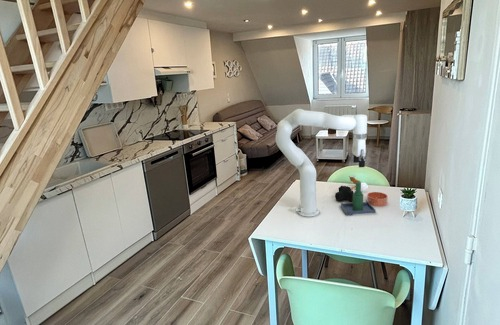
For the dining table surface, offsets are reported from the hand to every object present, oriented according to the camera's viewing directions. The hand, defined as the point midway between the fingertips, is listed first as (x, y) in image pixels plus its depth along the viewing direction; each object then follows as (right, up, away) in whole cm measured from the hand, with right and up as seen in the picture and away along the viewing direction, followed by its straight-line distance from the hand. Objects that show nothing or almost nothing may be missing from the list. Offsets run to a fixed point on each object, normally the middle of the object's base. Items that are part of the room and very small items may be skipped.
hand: (358, 164), depth 182 cm
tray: (+2, -28, +8) cm, 29 cm away
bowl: (+17, -25, +15) cm, 34 cm away
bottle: (+2, -27, +8) cm, 29 cm away
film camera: (-2, -24, +25) cm, 34 cm away
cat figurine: (+12, -18, +41) cm, 46 cm away
